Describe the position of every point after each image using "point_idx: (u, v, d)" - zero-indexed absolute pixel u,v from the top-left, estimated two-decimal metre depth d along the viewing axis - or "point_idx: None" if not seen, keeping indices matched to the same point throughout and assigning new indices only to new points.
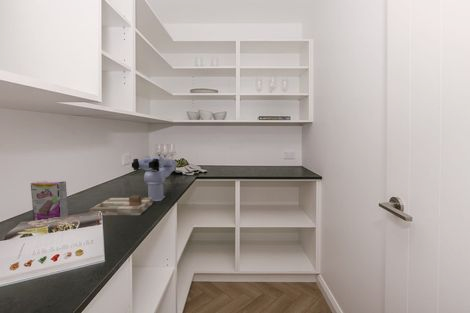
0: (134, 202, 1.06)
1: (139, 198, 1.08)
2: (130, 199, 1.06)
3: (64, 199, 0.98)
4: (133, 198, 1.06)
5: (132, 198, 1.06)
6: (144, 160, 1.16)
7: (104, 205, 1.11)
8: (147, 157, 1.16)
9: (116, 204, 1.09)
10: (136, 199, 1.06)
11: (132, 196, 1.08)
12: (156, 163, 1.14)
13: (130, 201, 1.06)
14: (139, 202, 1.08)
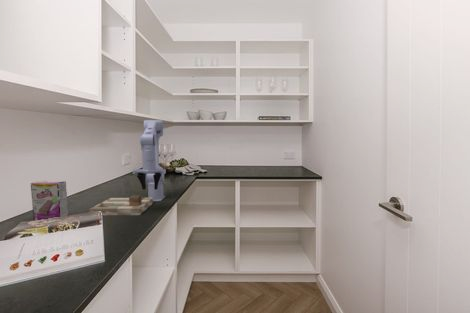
0: (134, 202, 1.06)
1: (139, 198, 1.08)
2: (130, 199, 1.06)
3: (64, 199, 0.98)
4: (133, 198, 1.06)
5: (132, 198, 1.06)
6: None
7: (104, 205, 1.11)
8: (147, 172, 1.04)
9: (116, 204, 1.09)
10: (136, 199, 1.06)
11: (132, 196, 1.08)
12: None
13: (130, 201, 1.06)
14: (139, 202, 1.08)
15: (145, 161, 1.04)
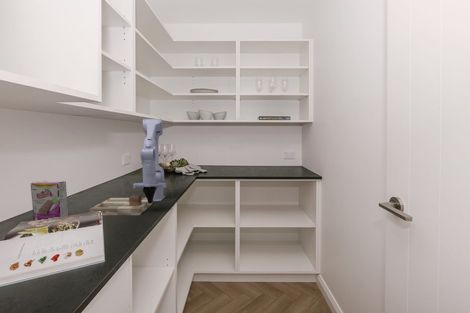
0: (134, 202, 1.06)
1: (139, 198, 1.08)
2: (130, 199, 1.06)
3: (64, 199, 0.98)
4: (133, 198, 1.06)
5: (132, 198, 1.06)
6: None
7: (104, 205, 1.11)
8: (147, 186, 1.04)
9: (116, 204, 1.09)
10: (136, 199, 1.06)
11: (132, 196, 1.08)
12: None
13: (130, 201, 1.06)
14: (139, 202, 1.08)
15: (145, 175, 1.05)
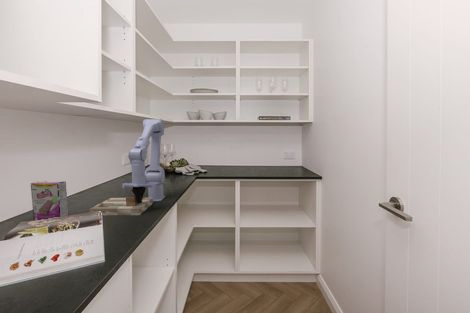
0: (131, 202, 1.06)
1: None
2: (127, 199, 1.06)
3: (64, 199, 0.98)
4: (130, 198, 1.06)
5: (129, 198, 1.06)
6: None
7: (104, 205, 1.11)
8: (136, 186, 1.04)
9: (116, 204, 1.09)
10: (133, 199, 1.06)
11: (129, 196, 1.08)
12: None
13: (127, 201, 1.06)
14: (136, 202, 1.08)
15: (134, 175, 1.04)
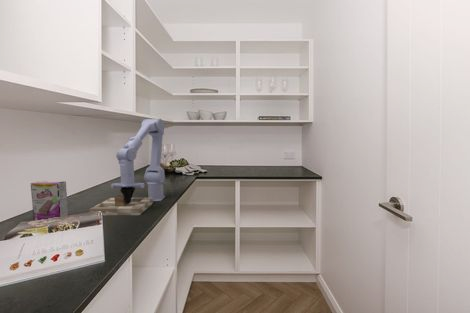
0: (119, 202, 1.06)
1: None
2: (115, 199, 1.06)
3: (64, 199, 0.98)
4: (118, 198, 1.06)
5: (117, 198, 1.06)
6: None
7: (104, 205, 1.11)
8: (124, 186, 1.04)
9: None
10: (121, 199, 1.06)
11: (118, 196, 1.08)
12: None
13: (115, 201, 1.06)
14: (125, 203, 1.08)
15: (123, 175, 1.04)
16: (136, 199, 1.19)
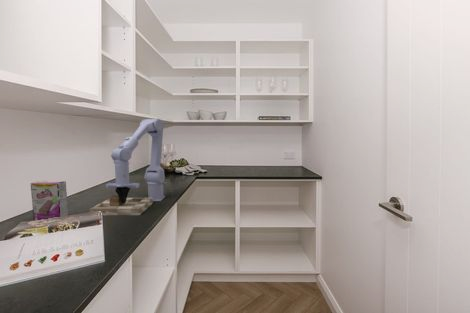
0: (114, 202, 1.06)
1: None
2: (110, 199, 1.06)
3: (64, 199, 0.98)
4: (113, 198, 1.06)
5: (112, 198, 1.06)
6: None
7: (104, 205, 1.11)
8: (119, 186, 1.04)
9: None
10: (116, 199, 1.06)
11: (113, 196, 1.08)
12: None
13: (110, 201, 1.06)
14: (119, 203, 1.08)
15: (118, 175, 1.04)
16: (136, 199, 1.19)
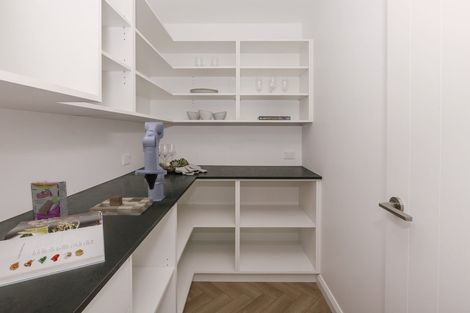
0: (114, 202, 1.06)
1: (120, 198, 1.08)
2: (110, 199, 1.06)
3: (64, 199, 0.98)
4: (113, 198, 1.06)
5: (112, 198, 1.06)
6: None
7: (104, 205, 1.11)
8: (148, 173, 1.08)
9: None
10: (116, 199, 1.06)
11: (113, 196, 1.08)
12: None
13: (110, 201, 1.06)
14: (119, 203, 1.08)
15: (147, 162, 1.08)
16: (136, 199, 1.19)
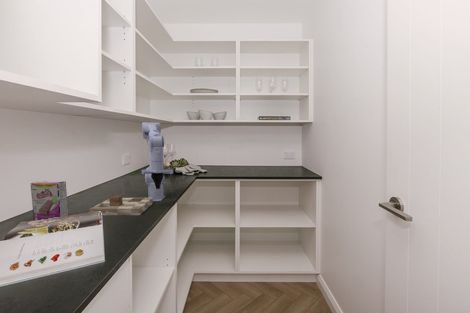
0: (114, 202, 1.06)
1: (120, 198, 1.08)
2: (110, 199, 1.06)
3: (64, 199, 0.98)
4: (113, 198, 1.06)
5: (112, 198, 1.06)
6: None
7: (104, 205, 1.11)
8: None
9: None
10: (116, 199, 1.06)
11: (113, 196, 1.08)
12: None
13: (110, 201, 1.06)
14: (119, 203, 1.08)
15: (154, 162, 1.10)
16: (136, 199, 1.19)
